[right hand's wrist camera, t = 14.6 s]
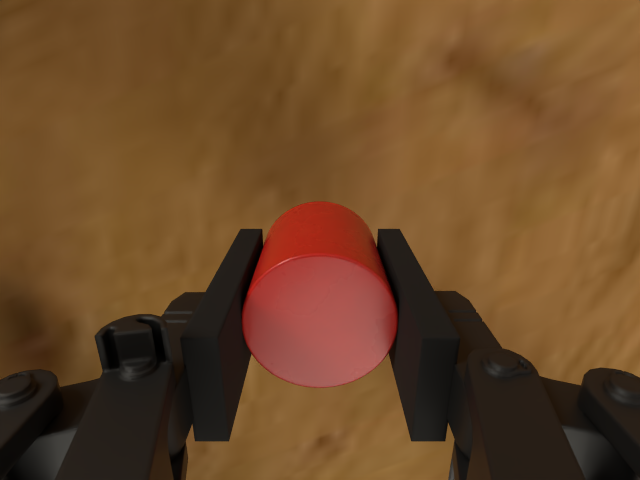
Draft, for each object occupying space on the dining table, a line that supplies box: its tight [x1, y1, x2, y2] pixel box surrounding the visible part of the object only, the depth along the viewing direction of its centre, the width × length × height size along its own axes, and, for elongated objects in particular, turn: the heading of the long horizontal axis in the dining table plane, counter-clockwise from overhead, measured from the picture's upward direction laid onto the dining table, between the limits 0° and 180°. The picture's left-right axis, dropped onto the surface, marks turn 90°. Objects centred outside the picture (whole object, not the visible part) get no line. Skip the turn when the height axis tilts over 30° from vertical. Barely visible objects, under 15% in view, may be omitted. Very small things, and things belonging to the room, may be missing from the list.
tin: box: [242, 202, 398, 388], centre depth 12 cm, size 4×4×5 cm
